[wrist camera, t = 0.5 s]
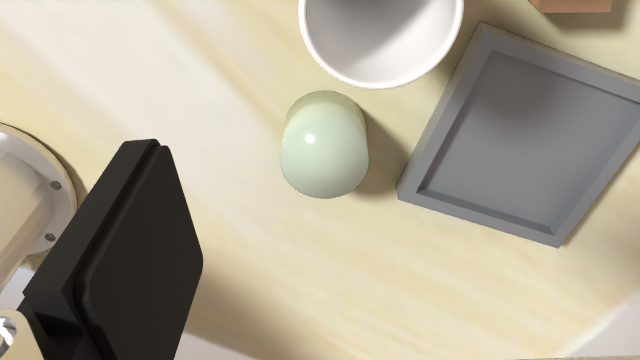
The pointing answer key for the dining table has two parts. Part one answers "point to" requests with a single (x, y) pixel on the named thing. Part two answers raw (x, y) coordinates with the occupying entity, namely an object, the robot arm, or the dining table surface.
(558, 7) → the walnut block
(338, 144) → the pale green rounded cylinder
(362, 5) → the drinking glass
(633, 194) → the dining table surface
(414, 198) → the slate tray
